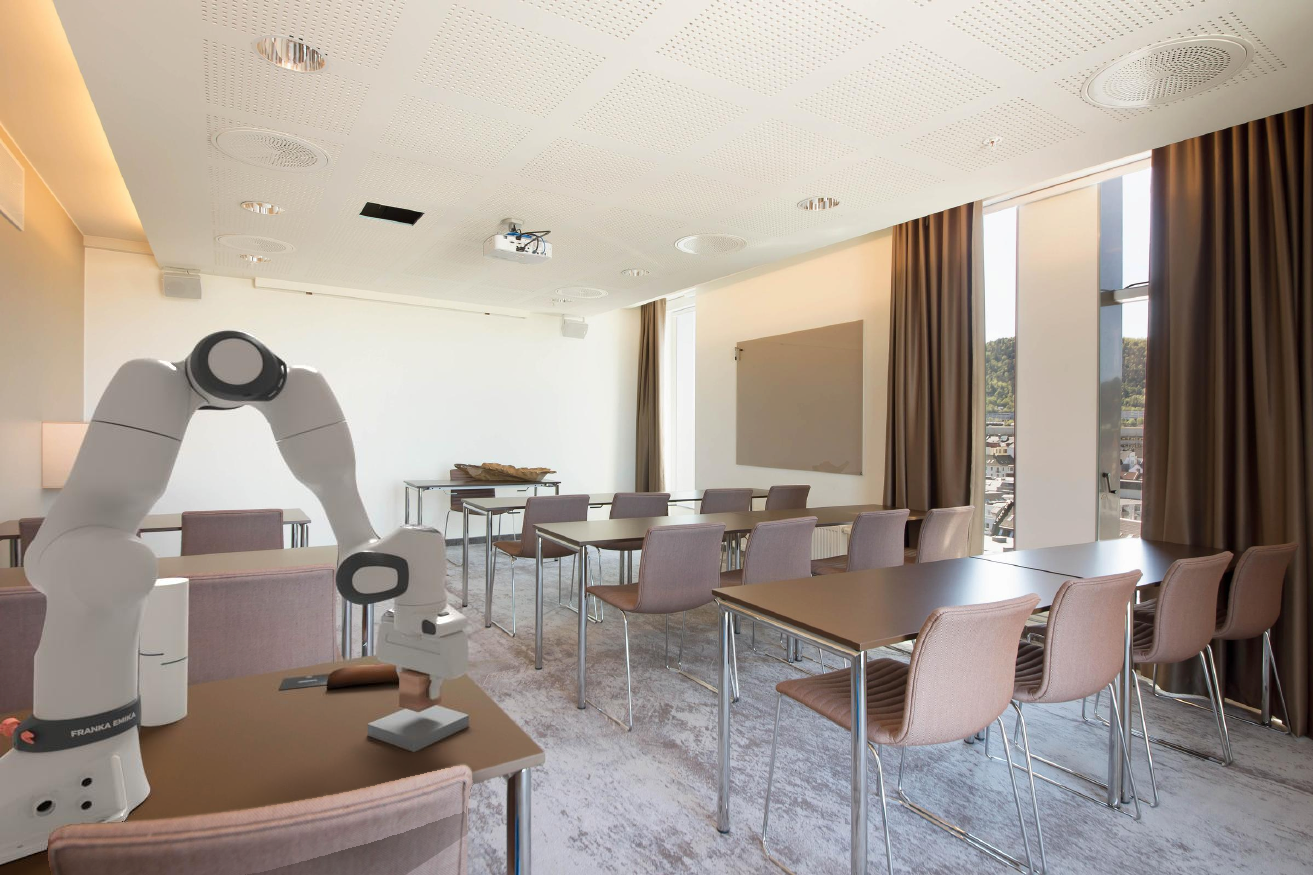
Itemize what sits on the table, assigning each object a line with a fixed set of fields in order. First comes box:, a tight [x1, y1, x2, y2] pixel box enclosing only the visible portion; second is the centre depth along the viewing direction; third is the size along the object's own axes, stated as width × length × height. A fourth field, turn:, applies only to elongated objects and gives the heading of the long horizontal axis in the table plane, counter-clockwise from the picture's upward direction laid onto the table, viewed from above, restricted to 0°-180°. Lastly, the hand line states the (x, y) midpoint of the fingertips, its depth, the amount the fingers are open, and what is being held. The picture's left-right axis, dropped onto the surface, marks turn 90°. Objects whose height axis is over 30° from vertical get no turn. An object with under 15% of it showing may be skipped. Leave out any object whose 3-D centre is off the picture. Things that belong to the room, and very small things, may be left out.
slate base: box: [367, 704, 470, 753], centre depth 119 cm, size 12×12×2 cm
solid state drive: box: [278, 673, 330, 691], centre depth 142 cm, size 7×10×1 cm
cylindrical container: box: [138, 577, 190, 727], centre depth 123 cm, size 7×7×25 cm
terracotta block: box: [398, 669, 442, 713], centre depth 119 cm, size 5×5×6 cm
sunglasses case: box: [326, 663, 399, 691], centre depth 143 cm, size 18×7×7 cm
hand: (420, 694), depth 119 cm, fingers closed on terracotta block, 5 cm apart
